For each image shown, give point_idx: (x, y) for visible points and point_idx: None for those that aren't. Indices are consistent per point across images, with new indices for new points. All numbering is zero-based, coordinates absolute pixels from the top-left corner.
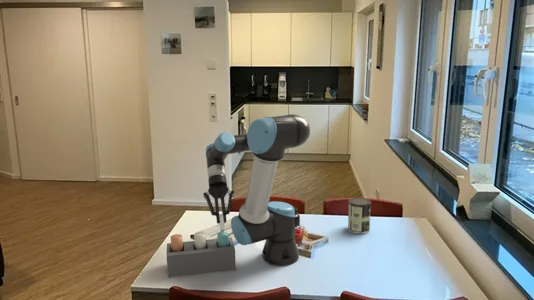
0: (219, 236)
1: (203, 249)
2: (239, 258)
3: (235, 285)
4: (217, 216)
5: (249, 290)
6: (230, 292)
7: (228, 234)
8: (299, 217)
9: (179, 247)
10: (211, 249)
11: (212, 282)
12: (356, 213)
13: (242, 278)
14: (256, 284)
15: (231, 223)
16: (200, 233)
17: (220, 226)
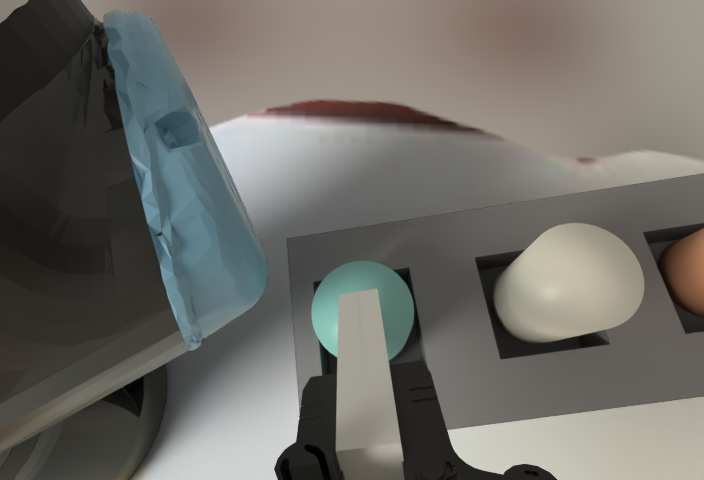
0: (391, 270)
1: (503, 245)
2: (290, 409)
3: (320, 155)
4: (431, 431)
5: (269, 123)
6: (340, 112)
7: (312, 303)
8: None
9: (699, 231)
10: (446, 242)
11: (418, 180)
12: None
13: (289, 205)
14: (237, 160)
15: (241, 213)
16: (583, 296)
17: (381, 315)
